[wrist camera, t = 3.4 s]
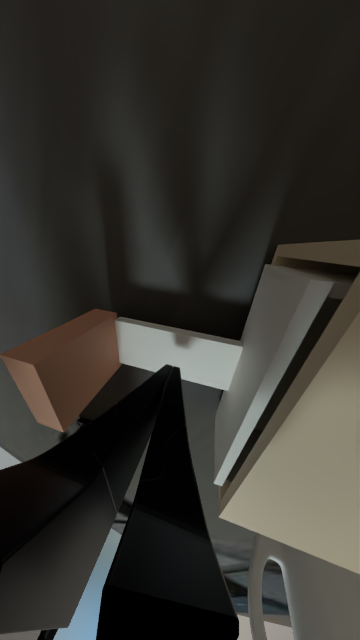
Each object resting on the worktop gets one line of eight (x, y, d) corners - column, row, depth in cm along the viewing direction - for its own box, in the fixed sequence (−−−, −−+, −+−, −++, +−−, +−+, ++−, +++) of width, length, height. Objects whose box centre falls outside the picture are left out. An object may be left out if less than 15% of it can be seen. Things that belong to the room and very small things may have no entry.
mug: (351, 508, 15) (660, 1119, 4) (321, 528, 18) (465, 925, 7) (245, 474, 17) (286, 844, 6) (233, 497, 20) (249, 776, 9)
